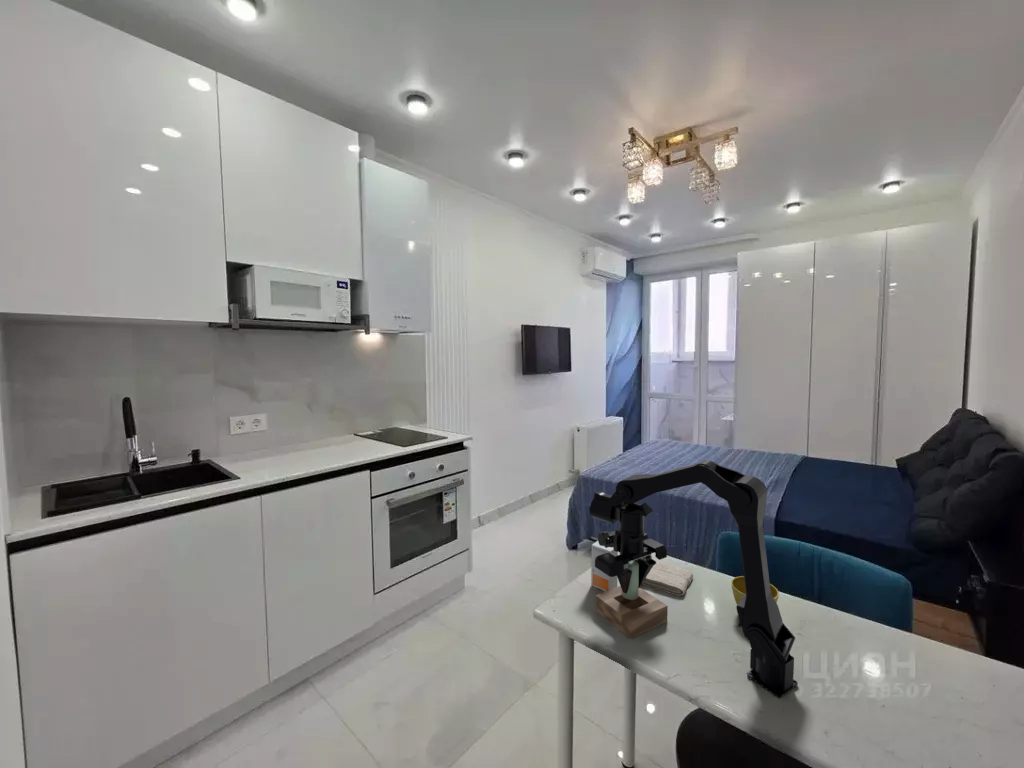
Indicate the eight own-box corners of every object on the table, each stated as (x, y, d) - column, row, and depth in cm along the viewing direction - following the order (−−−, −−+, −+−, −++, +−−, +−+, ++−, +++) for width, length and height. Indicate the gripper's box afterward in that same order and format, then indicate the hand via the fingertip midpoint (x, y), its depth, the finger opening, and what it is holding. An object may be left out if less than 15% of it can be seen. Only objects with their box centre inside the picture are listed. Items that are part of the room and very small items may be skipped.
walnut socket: (667, 621, 102) (667, 605, 102) (630, 638, 97) (630, 621, 96) (630, 596, 113) (630, 581, 112) (595, 610, 107) (595, 595, 107)
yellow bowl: (785, 617, 103) (786, 589, 102) (765, 634, 97) (766, 604, 97) (743, 598, 111) (744, 571, 111) (722, 612, 106) (723, 584, 105)
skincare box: (590, 586, 118) (590, 544, 117) (598, 579, 121) (598, 539, 120) (610, 594, 114) (610, 551, 113) (618, 587, 117) (618, 545, 116)
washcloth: (633, 561, 132) (633, 552, 132) (694, 579, 122) (694, 568, 121) (618, 578, 122) (618, 568, 122) (683, 599, 112) (684, 588, 112)
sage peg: (641, 596, 104) (642, 565, 103) (629, 601, 102) (630, 569, 101) (630, 588, 107) (630, 558, 107) (618, 593, 105) (618, 562, 105)
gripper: (635, 509, 114) (634, 565, 116) (580, 525, 105) (580, 585, 107) (668, 524, 105) (667, 585, 106) (611, 542, 96) (611, 608, 97)
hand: (631, 589), depth 104 cm, fingers closed on sage peg, 4 cm apart
